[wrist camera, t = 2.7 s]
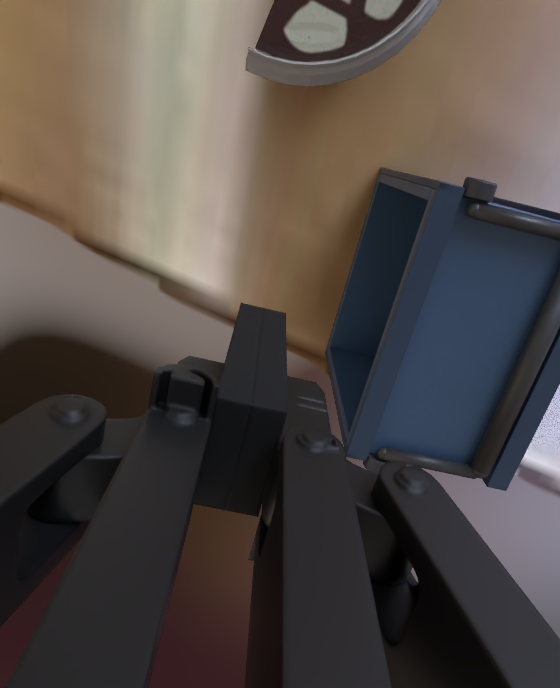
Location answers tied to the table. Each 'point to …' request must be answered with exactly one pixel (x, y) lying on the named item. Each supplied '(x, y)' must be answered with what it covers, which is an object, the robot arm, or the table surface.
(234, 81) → the table surface
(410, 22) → the food container
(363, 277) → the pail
